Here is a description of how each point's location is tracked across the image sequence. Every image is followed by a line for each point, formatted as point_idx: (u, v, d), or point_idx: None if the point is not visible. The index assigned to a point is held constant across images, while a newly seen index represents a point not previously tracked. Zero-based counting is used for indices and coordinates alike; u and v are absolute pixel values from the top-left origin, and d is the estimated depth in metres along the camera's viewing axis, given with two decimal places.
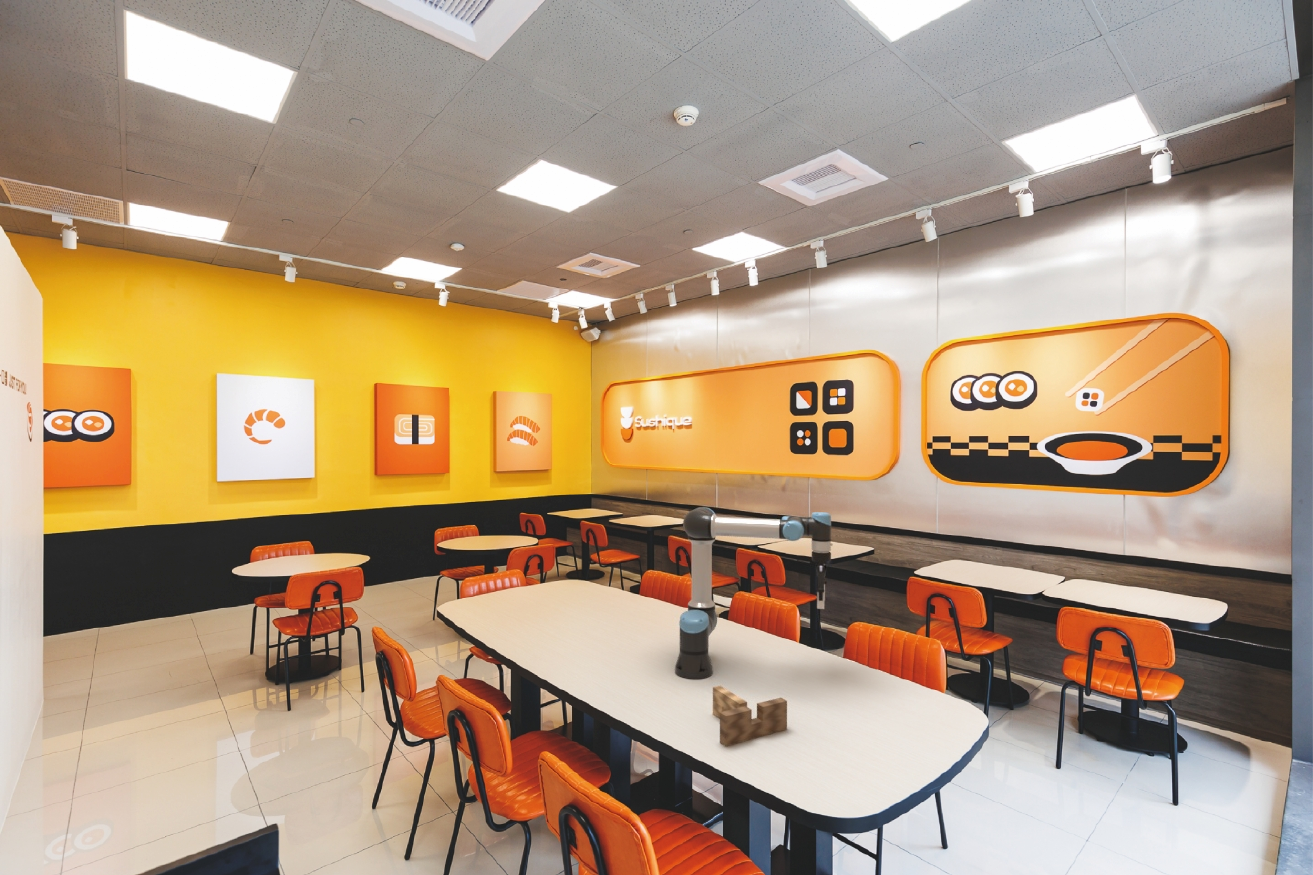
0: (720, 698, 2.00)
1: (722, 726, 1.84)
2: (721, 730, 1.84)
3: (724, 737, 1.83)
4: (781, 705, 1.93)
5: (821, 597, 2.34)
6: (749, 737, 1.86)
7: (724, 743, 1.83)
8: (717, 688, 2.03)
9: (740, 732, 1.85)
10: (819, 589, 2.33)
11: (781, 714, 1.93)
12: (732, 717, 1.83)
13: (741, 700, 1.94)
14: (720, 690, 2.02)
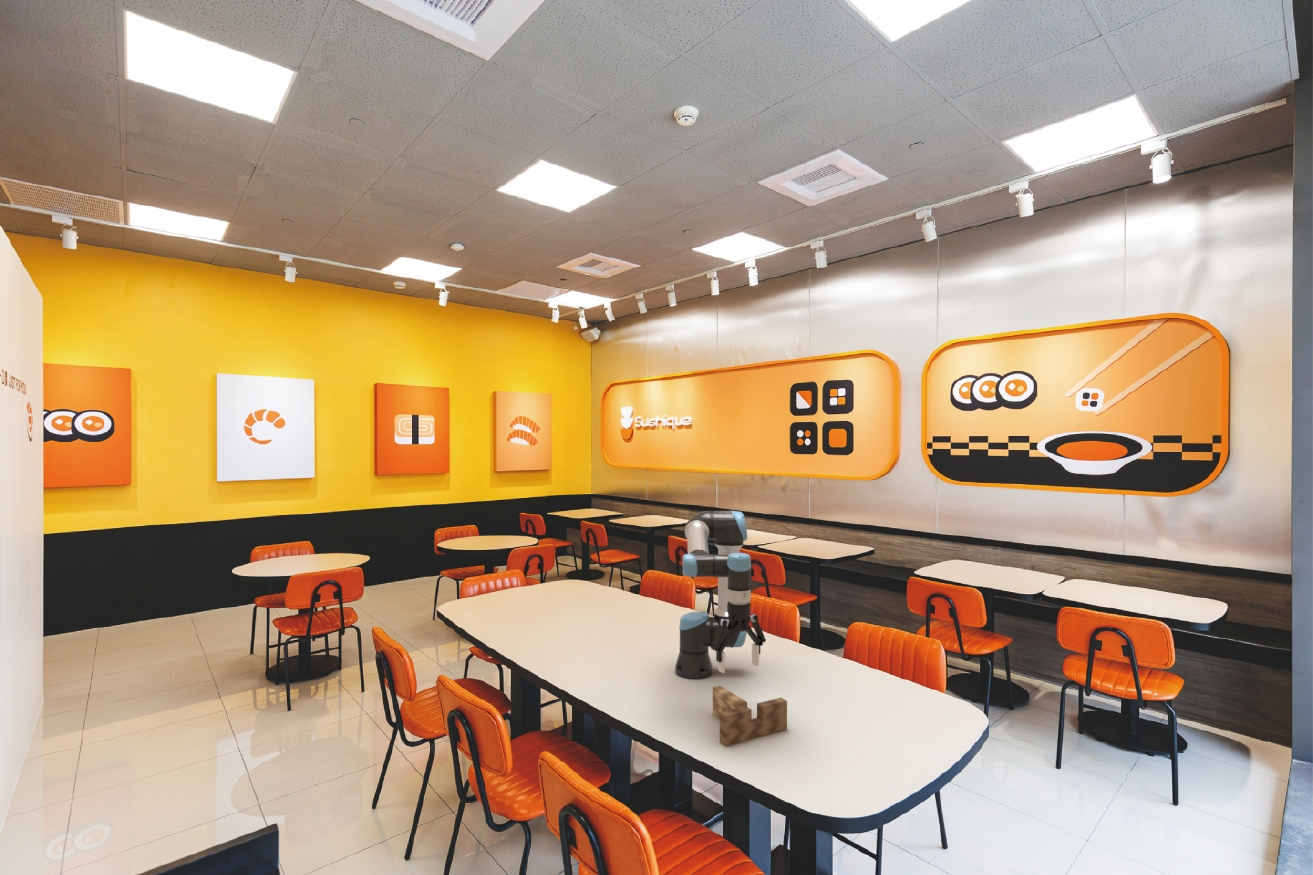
0: (720, 698, 2.00)
1: (722, 726, 1.84)
2: (721, 730, 1.84)
3: (724, 737, 1.83)
4: (781, 705, 1.93)
5: (718, 657, 1.91)
6: (749, 737, 1.86)
7: (724, 743, 1.83)
8: (717, 688, 2.03)
9: (740, 732, 1.85)
10: (712, 647, 1.91)
11: (781, 714, 1.93)
12: (732, 717, 1.83)
13: (741, 700, 1.94)
14: (720, 690, 2.02)
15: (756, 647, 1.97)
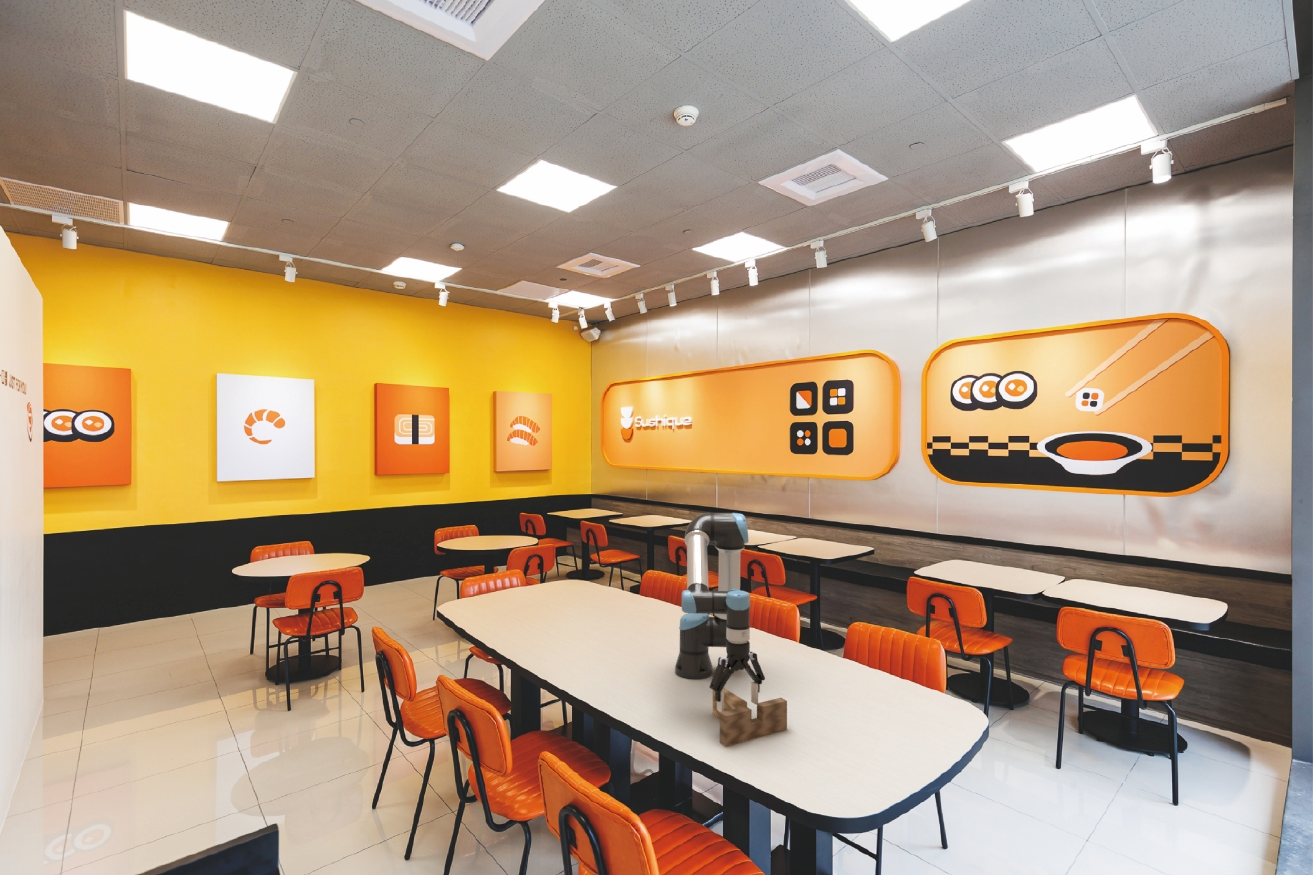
0: None
1: (722, 726, 1.84)
2: (721, 730, 1.84)
3: (724, 737, 1.83)
4: (781, 705, 1.93)
5: (717, 697, 1.90)
6: (749, 737, 1.86)
7: (724, 743, 1.83)
8: None
9: (740, 732, 1.85)
10: (711, 686, 1.90)
11: (781, 714, 1.93)
12: (732, 717, 1.83)
13: (741, 700, 1.94)
14: None
15: (755, 685, 1.97)
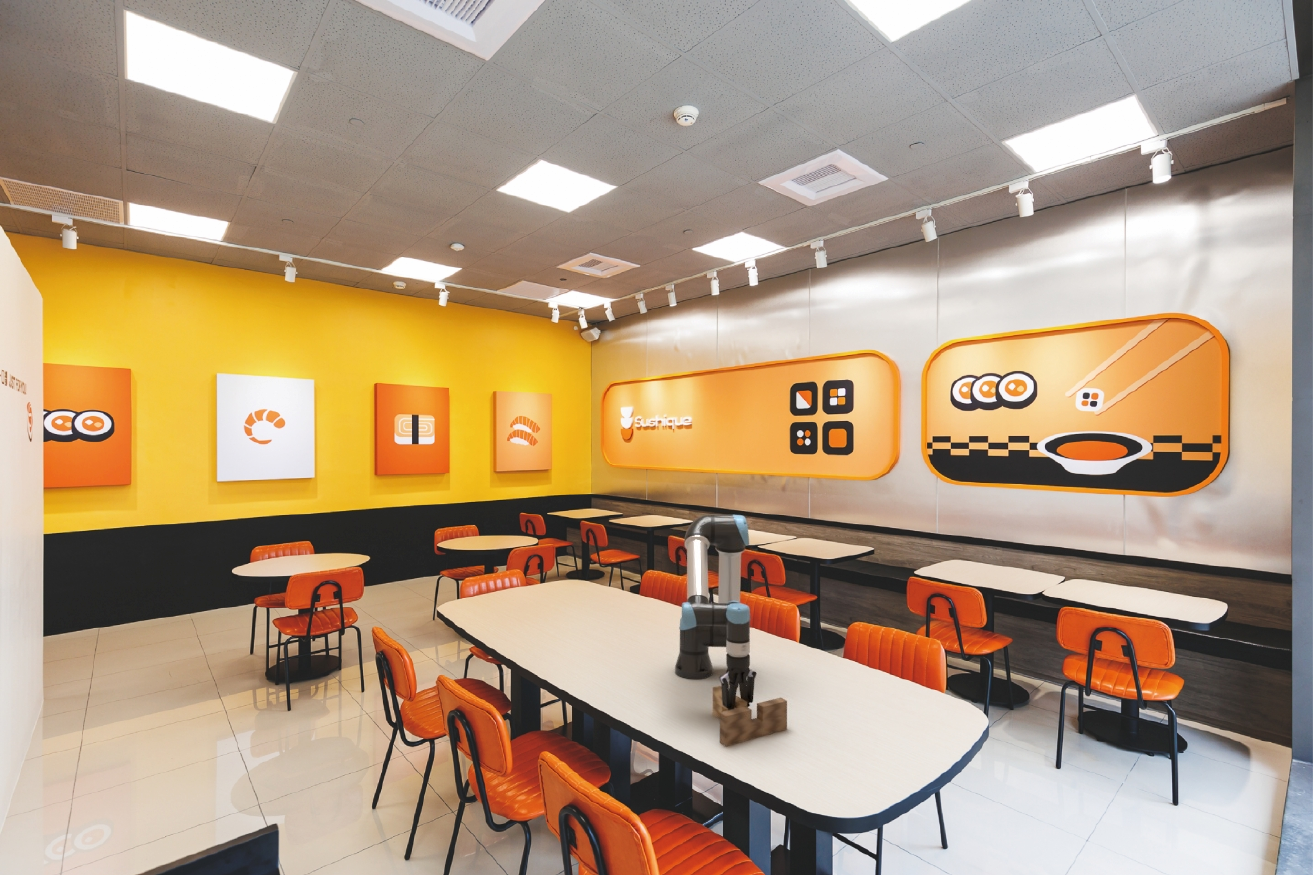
0: (720, 698, 2.00)
1: (722, 726, 1.84)
2: (721, 730, 1.84)
3: (724, 737, 1.83)
4: (781, 705, 1.93)
5: None
6: (749, 737, 1.86)
7: (724, 743, 1.83)
8: (717, 688, 2.03)
9: (740, 732, 1.85)
10: (724, 705, 1.92)
11: (781, 714, 1.93)
12: (732, 717, 1.83)
13: (741, 700, 1.94)
14: (720, 690, 2.02)
15: None
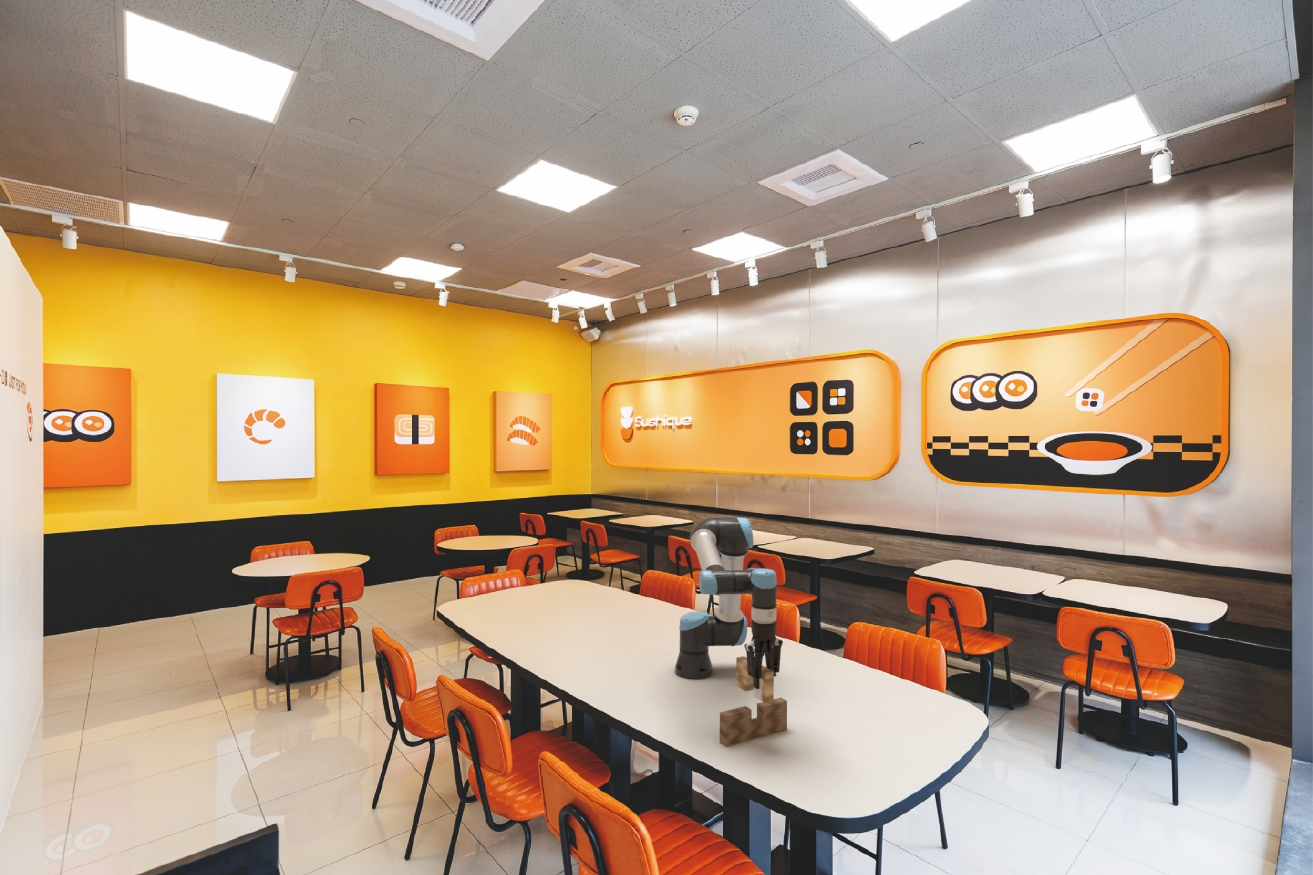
0: (744, 668, 1.91)
1: (722, 726, 1.84)
2: (721, 730, 1.84)
3: (724, 737, 1.83)
4: (781, 705, 1.93)
5: (755, 684, 1.83)
6: (749, 737, 1.86)
7: (724, 743, 1.83)
8: (741, 658, 1.94)
9: (740, 732, 1.85)
10: (749, 674, 1.83)
11: (781, 714, 1.93)
12: (732, 717, 1.83)
13: (767, 669, 1.85)
14: (744, 660, 1.93)
15: None
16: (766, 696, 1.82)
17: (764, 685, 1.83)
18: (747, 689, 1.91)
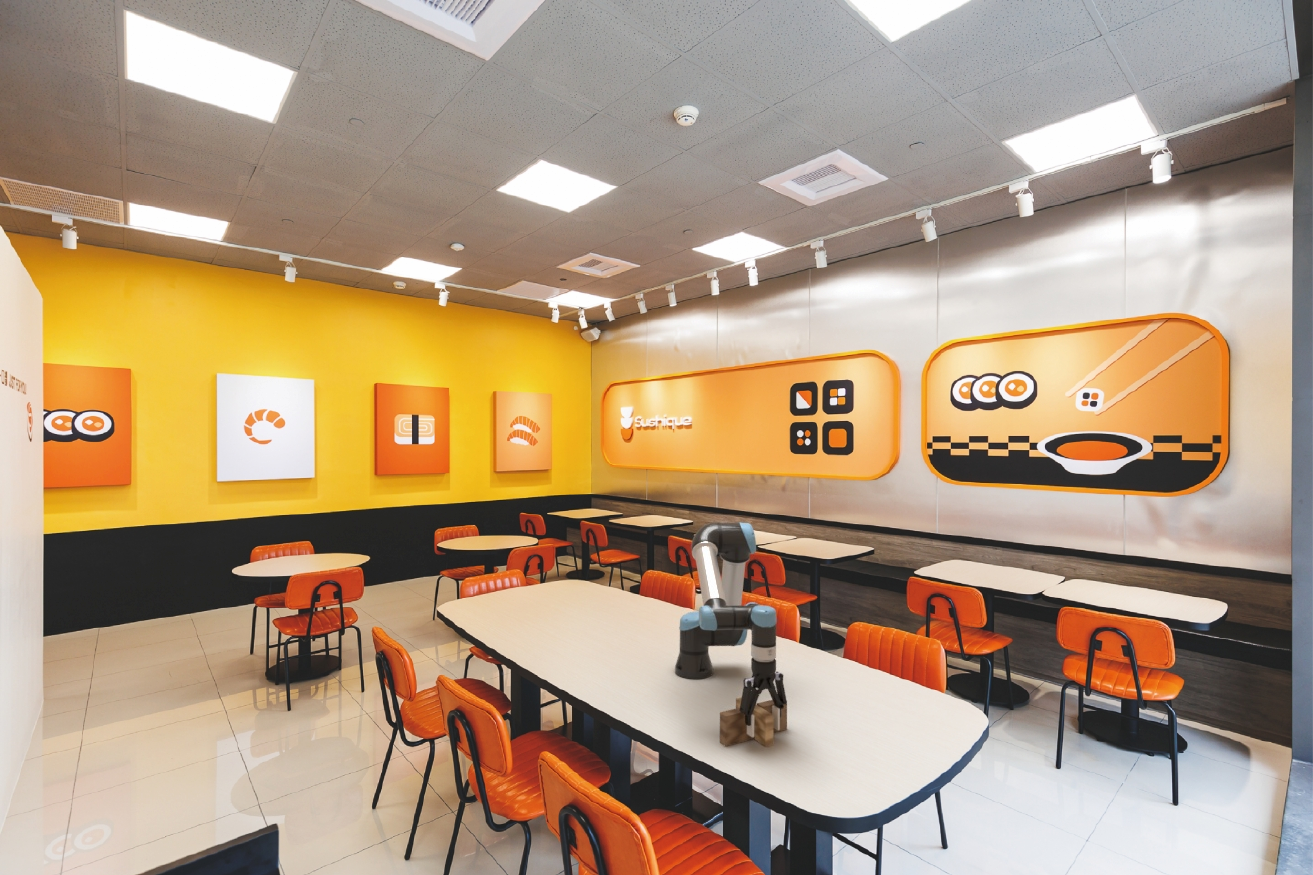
0: None
1: (722, 726, 1.84)
2: (721, 730, 1.84)
3: (724, 737, 1.83)
4: None
5: (747, 721, 1.82)
6: (749, 737, 1.86)
7: (724, 743, 1.83)
8: (740, 699, 1.94)
9: (740, 732, 1.85)
10: (741, 710, 1.82)
11: (781, 714, 1.93)
12: (732, 717, 1.83)
13: (767, 713, 1.85)
14: None
15: (777, 710, 1.87)
16: (765, 740, 1.82)
17: (764, 729, 1.83)
18: None
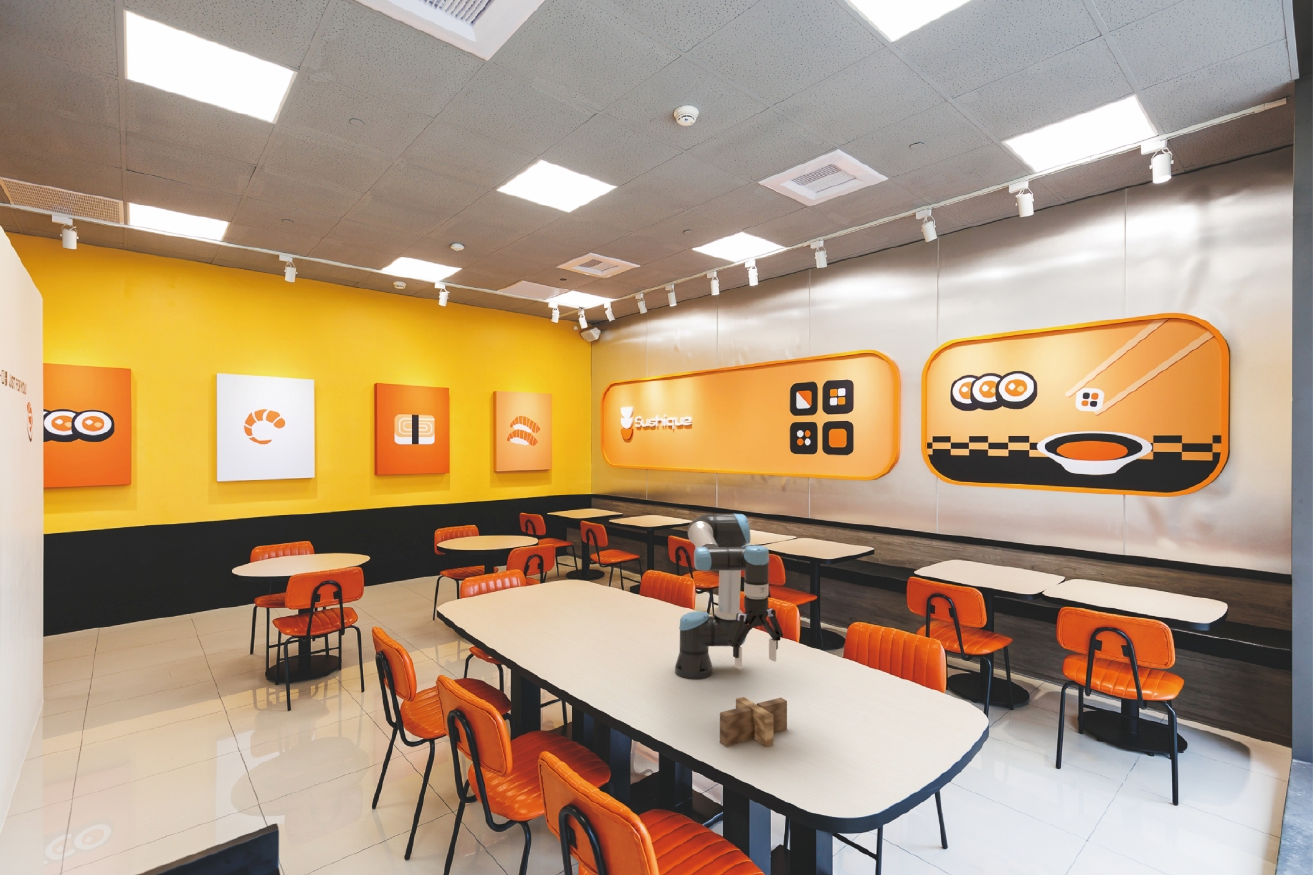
0: None
1: (722, 726, 1.84)
2: (721, 730, 1.84)
3: (724, 737, 1.83)
4: (781, 705, 1.93)
5: (735, 653, 1.85)
6: (749, 737, 1.86)
7: (724, 743, 1.83)
8: (740, 699, 1.94)
9: (740, 732, 1.85)
10: (729, 642, 1.85)
11: (781, 714, 1.93)
12: (732, 717, 1.83)
13: (767, 713, 1.85)
14: (744, 701, 1.93)
15: (773, 642, 1.92)
16: (765, 740, 1.82)
17: (764, 729, 1.83)
18: None
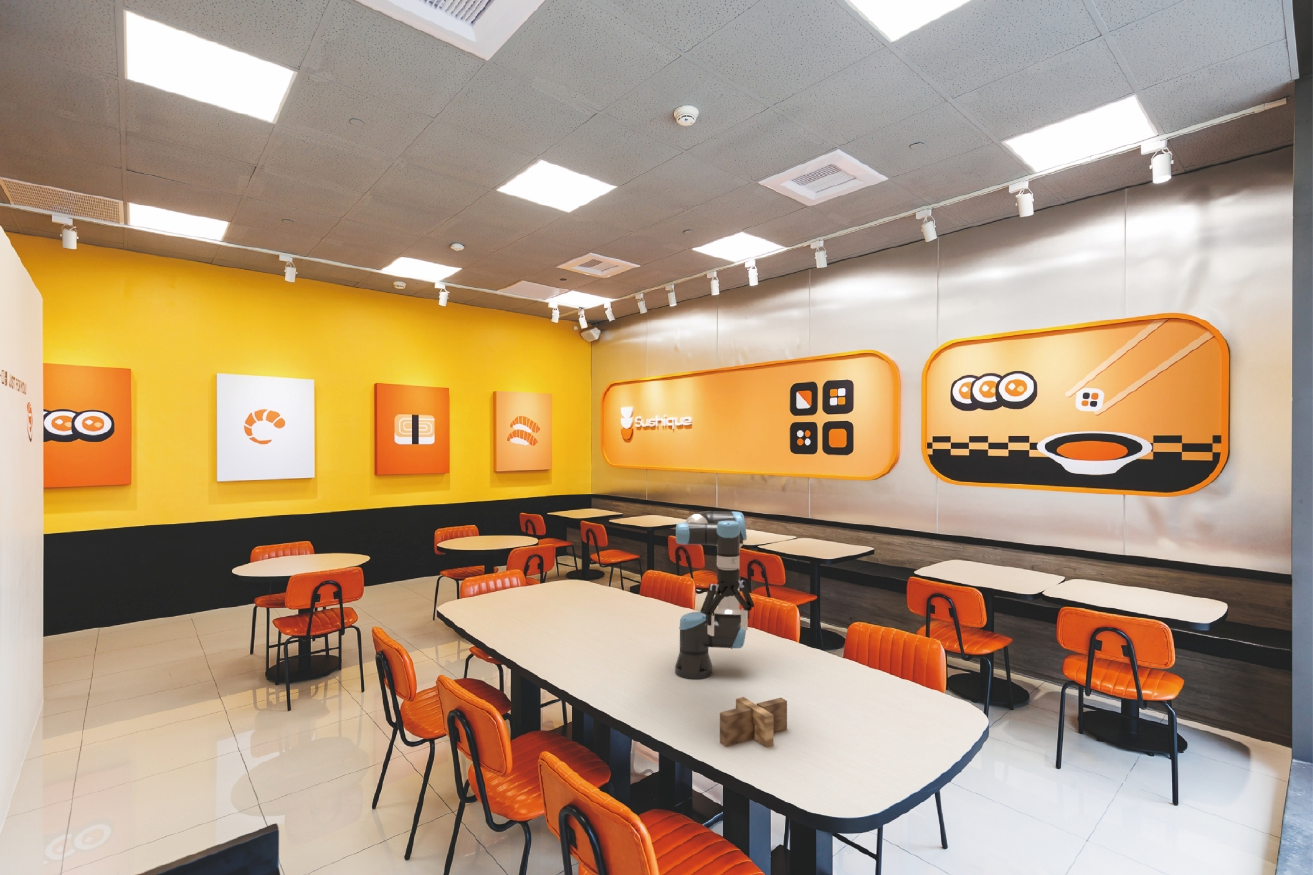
0: None
1: (722, 726, 1.84)
2: (721, 730, 1.84)
3: (724, 737, 1.83)
4: (781, 705, 1.93)
5: (707, 621, 1.97)
6: (749, 737, 1.86)
7: (724, 743, 1.83)
8: (740, 699, 1.94)
9: (740, 732, 1.85)
10: (702, 610, 1.97)
11: (781, 714, 1.93)
12: (732, 717, 1.83)
13: (767, 713, 1.85)
14: (744, 701, 1.93)
15: (745, 612, 2.03)
16: (765, 740, 1.82)
17: (764, 729, 1.83)
18: None
